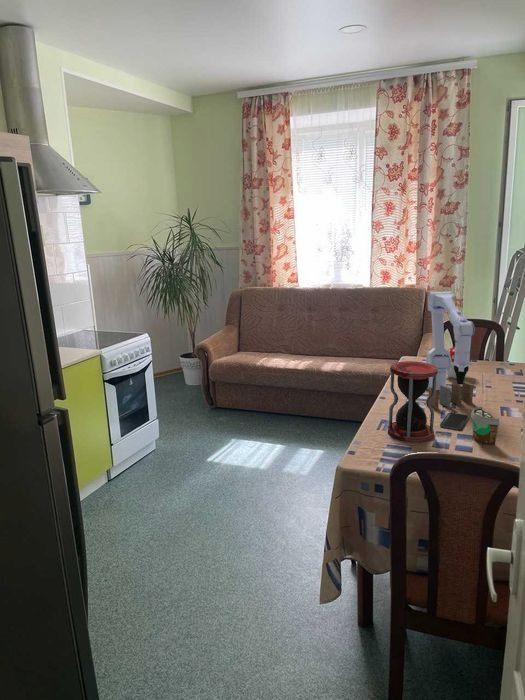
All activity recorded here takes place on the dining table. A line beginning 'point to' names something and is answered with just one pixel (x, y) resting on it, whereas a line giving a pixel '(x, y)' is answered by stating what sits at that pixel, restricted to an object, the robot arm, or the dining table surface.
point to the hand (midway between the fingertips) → (459, 383)
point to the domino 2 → (445, 395)
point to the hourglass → (412, 401)
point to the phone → (454, 421)
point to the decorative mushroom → (451, 371)
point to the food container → (484, 426)
